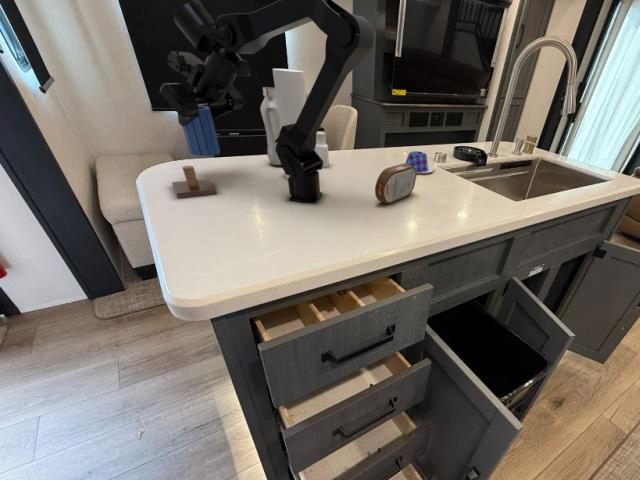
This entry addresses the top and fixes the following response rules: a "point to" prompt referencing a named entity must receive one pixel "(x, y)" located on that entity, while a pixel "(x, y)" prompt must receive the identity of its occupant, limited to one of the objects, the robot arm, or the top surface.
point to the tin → (395, 183)
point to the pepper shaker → (322, 148)
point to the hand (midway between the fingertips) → (193, 122)
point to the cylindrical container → (289, 95)
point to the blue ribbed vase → (202, 134)
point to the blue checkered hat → (418, 162)
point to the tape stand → (193, 185)
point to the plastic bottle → (271, 123)
